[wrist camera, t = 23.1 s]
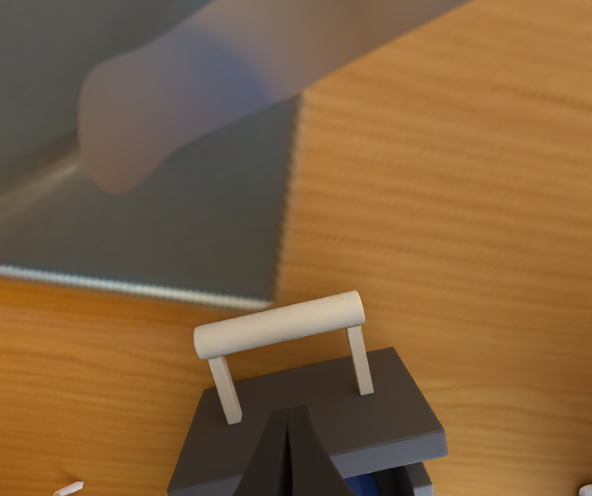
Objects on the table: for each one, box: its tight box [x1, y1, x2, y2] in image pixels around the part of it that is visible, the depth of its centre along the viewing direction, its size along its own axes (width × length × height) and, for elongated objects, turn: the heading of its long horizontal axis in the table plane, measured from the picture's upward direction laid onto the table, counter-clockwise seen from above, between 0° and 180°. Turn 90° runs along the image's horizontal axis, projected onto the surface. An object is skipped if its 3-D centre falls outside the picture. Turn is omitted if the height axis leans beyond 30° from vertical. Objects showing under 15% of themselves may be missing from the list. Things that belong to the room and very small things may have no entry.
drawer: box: [167, 291, 448, 496], centre depth 16 cm, size 17×10×6 cm, turn 13°
